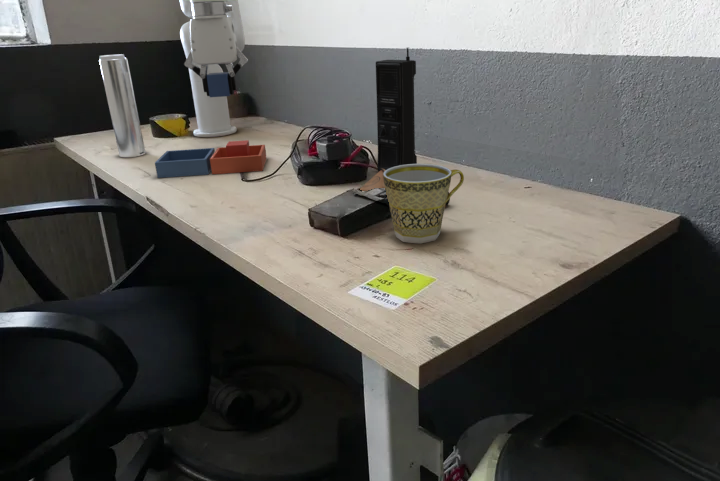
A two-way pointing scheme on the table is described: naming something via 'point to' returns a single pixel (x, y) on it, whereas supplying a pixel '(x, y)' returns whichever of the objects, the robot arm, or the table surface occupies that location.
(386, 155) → the portable radio
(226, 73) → the blue block
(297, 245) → the table surface
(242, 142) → the red block
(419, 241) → the ceramic cup
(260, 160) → the red bin
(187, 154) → the blue bin
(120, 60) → the shiny metal cylinder
